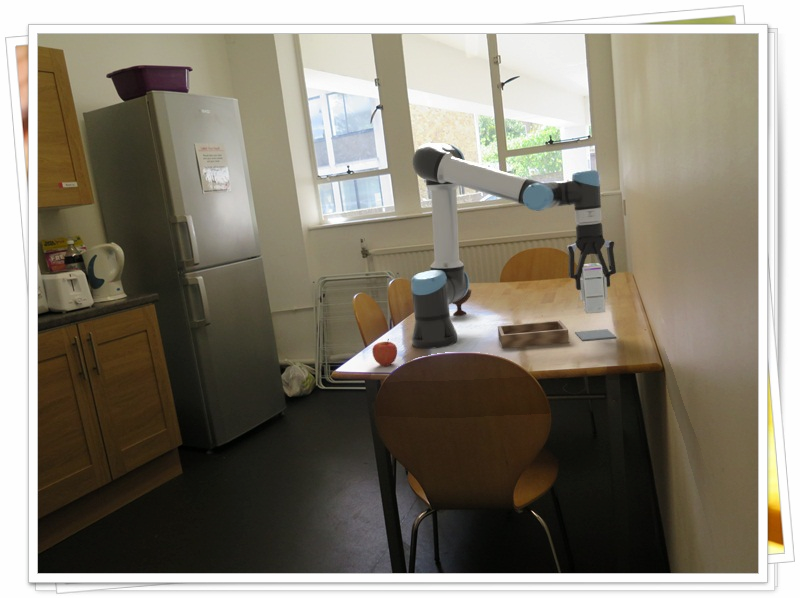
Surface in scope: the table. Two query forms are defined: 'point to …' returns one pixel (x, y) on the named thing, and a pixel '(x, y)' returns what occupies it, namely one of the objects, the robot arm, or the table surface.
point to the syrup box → (593, 288)
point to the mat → (595, 335)
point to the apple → (384, 353)
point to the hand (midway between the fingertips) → (593, 298)
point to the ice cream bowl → (460, 302)
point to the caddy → (533, 334)
